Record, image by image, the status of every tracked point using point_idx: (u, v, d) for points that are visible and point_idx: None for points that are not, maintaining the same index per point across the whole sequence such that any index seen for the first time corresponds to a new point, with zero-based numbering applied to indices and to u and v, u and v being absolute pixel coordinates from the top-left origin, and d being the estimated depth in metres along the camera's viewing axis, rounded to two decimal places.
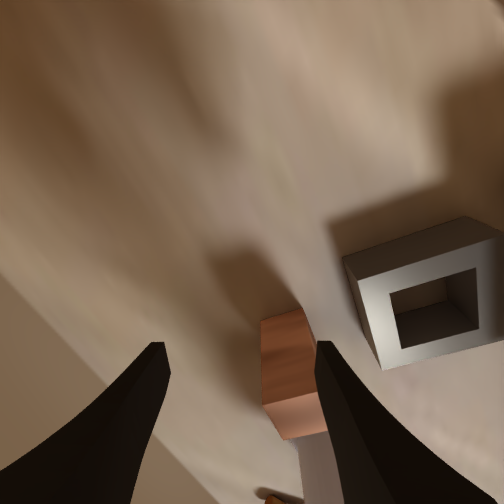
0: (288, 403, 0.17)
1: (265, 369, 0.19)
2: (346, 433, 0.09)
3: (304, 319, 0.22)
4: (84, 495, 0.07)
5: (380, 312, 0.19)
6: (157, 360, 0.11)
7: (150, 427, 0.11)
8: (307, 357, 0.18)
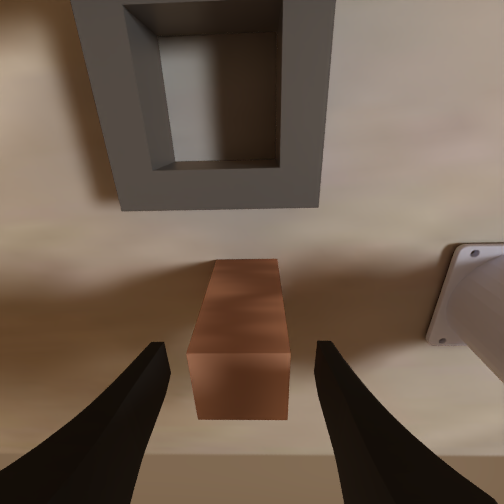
0: (203, 395, 0.11)
1: None
2: (346, 433, 0.09)
3: (213, 272, 0.16)
4: (84, 495, 0.07)
5: (187, 190, 0.12)
6: (157, 360, 0.11)
7: (150, 427, 0.11)
8: None
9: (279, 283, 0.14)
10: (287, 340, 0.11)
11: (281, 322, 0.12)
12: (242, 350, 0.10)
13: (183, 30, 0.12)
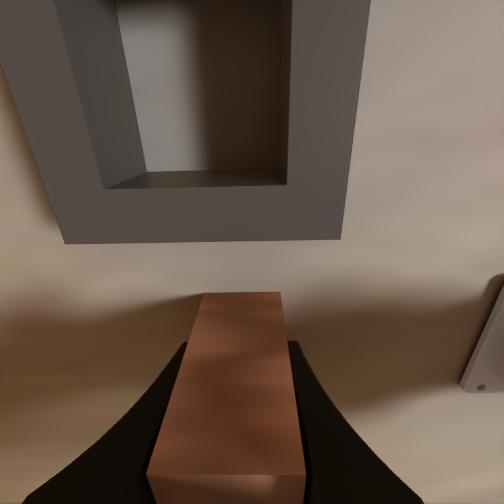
0: None
1: None
2: None
3: (198, 312, 0.13)
4: (142, 495, 0.07)
5: (155, 215, 0.08)
6: None
7: None
8: None
9: (284, 333, 0.11)
10: (299, 445, 0.07)
11: (290, 407, 0.08)
12: (231, 468, 0.07)
13: None
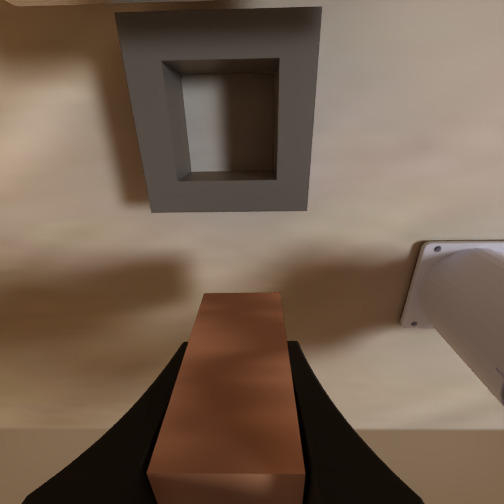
0: None
1: None
2: None
3: (198, 312, 0.13)
4: (142, 495, 0.07)
5: (204, 196, 0.15)
6: None
7: None
8: None
9: (284, 333, 0.11)
10: (299, 444, 0.07)
11: (289, 406, 0.08)
12: (231, 467, 0.07)
13: (202, 71, 0.15)
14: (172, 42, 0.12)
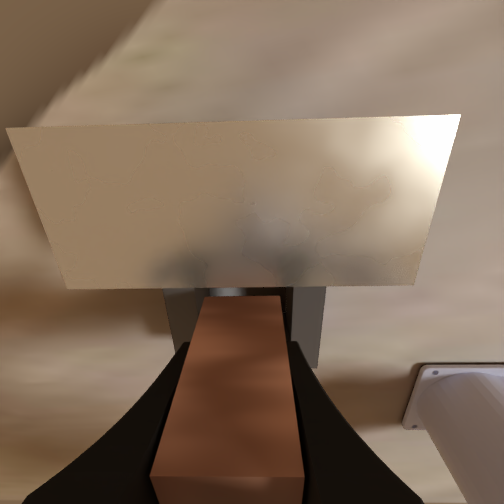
0: None
1: None
2: (299, 433, 0.09)
3: (199, 316, 0.13)
4: (142, 495, 0.07)
5: None
6: None
7: None
8: None
9: (283, 336, 0.11)
10: (298, 447, 0.07)
11: (289, 410, 0.08)
12: (232, 470, 0.07)
13: None
14: None
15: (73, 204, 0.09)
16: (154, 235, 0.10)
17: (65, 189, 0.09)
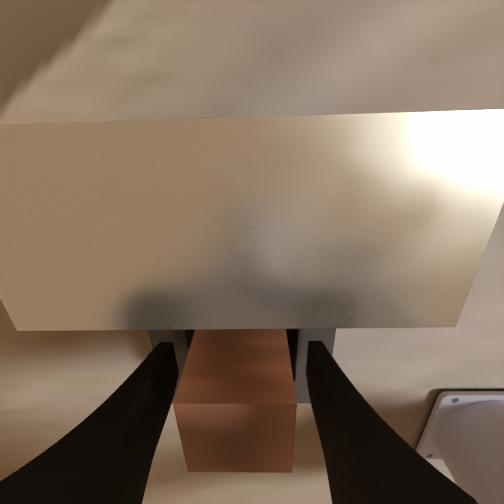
0: (193, 447, 0.10)
1: None
2: (334, 433, 0.09)
3: None
4: (99, 495, 0.07)
5: None
6: (166, 360, 0.11)
7: (160, 427, 0.11)
8: None
9: None
10: (292, 385, 0.09)
11: (285, 360, 0.10)
12: (239, 399, 0.09)
13: None
14: None
15: (14, 228, 0.07)
16: (123, 266, 0.07)
17: (1, 209, 0.07)
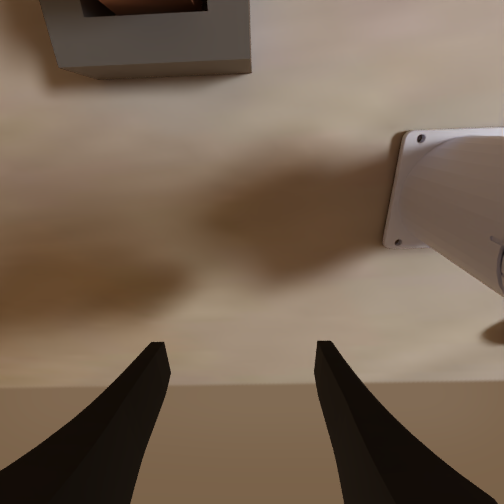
0: None
1: None
2: (346, 433, 0.09)
3: None
4: (84, 495, 0.07)
5: (120, 40, 0.12)
6: (157, 360, 0.11)
7: (150, 427, 0.11)
8: None
9: None
10: None
11: None
12: None
13: None
14: None
15: None
16: None
17: None
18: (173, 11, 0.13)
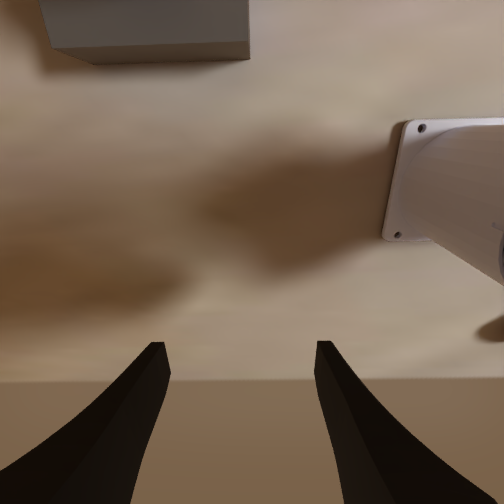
0: None
1: None
2: (346, 433, 0.09)
3: None
4: (84, 495, 0.07)
5: (115, 20, 0.12)
6: (157, 360, 0.11)
7: (150, 427, 0.11)
8: None
9: None
10: None
11: None
12: None
13: None
14: None
15: None
16: None
17: None
18: None
